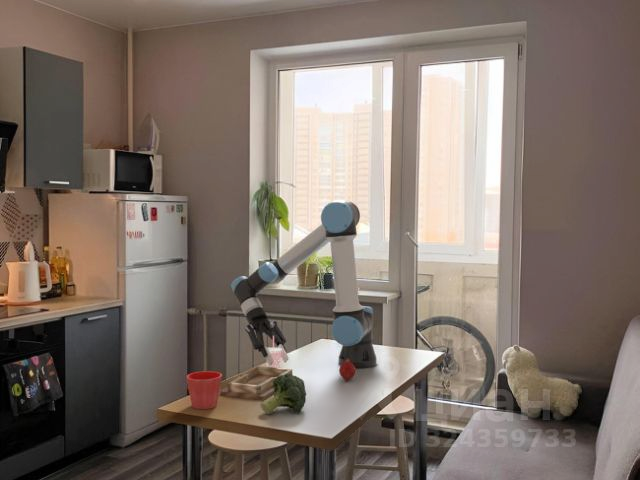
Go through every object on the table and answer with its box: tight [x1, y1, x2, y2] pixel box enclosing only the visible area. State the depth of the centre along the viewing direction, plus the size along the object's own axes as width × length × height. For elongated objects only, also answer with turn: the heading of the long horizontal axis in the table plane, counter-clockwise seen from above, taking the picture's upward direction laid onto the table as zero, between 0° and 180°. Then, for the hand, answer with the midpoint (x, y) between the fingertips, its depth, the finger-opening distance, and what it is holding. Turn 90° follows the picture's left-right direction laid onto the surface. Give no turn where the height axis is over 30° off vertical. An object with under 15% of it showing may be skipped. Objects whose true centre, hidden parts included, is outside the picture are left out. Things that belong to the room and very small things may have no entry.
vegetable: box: [260, 373, 307, 415], centre depth 203 cm, size 12×13×15 cm
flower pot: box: [186, 370, 223, 410], centre depth 208 cm, size 11×11×10 cm
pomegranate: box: [338, 359, 356, 382], centre depth 238 cm, size 6×6×8 cm
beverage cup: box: [266, 336, 282, 368], centre depth 247 cm, size 6×6×14 cm
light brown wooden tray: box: [219, 365, 293, 401], centre depth 229 cm, size 16×26×4 cm, turn 160°
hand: (279, 361), depth 245 cm, fingers closed on beverage cup, 6 cm apart
